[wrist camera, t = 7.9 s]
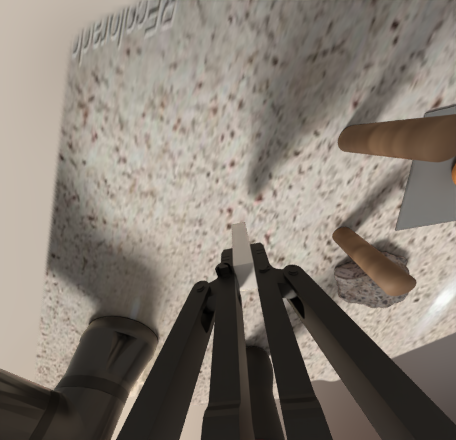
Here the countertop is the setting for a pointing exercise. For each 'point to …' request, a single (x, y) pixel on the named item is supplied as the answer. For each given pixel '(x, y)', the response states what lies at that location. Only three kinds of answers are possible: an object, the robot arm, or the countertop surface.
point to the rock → (365, 285)
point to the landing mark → (429, 190)
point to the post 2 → (374, 263)
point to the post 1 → (404, 138)
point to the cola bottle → (262, 396)
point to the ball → (454, 174)
